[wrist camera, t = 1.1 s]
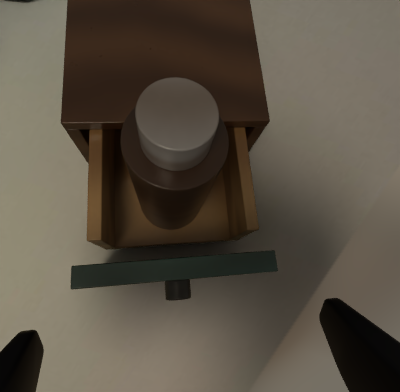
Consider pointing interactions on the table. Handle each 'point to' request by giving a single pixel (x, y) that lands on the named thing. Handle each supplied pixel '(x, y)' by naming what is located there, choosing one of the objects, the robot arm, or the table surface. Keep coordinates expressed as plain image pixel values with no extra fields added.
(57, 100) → the table surface
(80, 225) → the table surface
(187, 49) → the cabinet
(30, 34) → the table surface
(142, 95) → the bottle
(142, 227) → the drawer
